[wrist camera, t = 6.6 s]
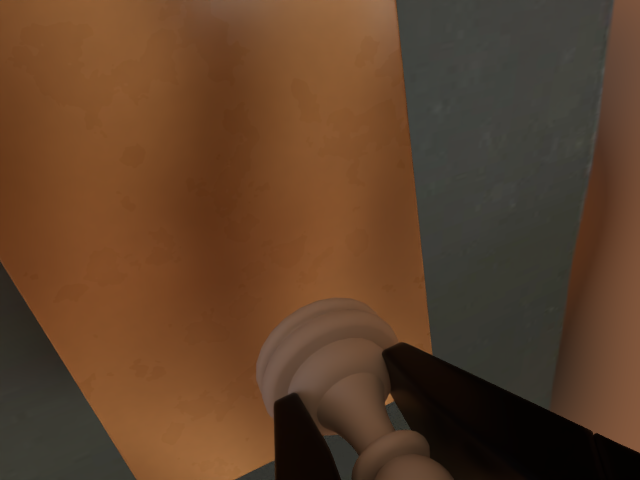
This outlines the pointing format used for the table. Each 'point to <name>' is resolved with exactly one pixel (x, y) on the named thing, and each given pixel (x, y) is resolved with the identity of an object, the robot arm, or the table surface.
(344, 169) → the shelf
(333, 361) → the pawn
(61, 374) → the table surface
